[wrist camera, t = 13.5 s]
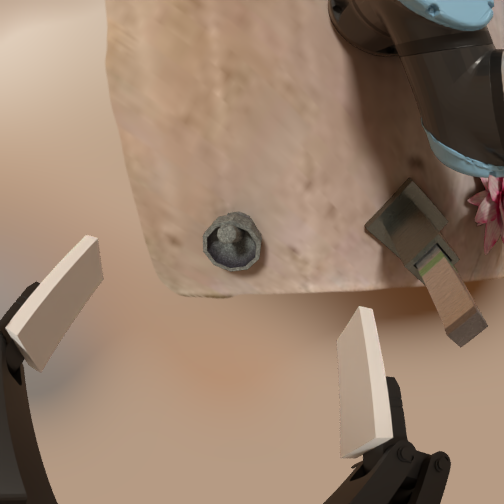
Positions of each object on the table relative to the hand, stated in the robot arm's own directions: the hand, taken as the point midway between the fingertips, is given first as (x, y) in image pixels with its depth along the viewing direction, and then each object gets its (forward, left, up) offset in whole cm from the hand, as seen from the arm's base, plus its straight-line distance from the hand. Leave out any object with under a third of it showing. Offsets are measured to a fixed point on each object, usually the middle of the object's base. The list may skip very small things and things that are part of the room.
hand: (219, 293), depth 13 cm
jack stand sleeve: (-4, +28, -36) cm, 46 cm away
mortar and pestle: (+16, +4, -36) cm, 39 cm away
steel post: (-4, +28, -29) cm, 41 cm away
